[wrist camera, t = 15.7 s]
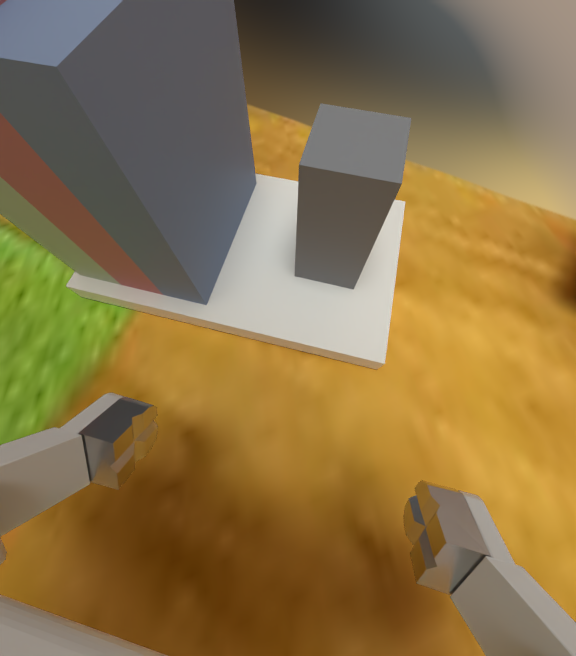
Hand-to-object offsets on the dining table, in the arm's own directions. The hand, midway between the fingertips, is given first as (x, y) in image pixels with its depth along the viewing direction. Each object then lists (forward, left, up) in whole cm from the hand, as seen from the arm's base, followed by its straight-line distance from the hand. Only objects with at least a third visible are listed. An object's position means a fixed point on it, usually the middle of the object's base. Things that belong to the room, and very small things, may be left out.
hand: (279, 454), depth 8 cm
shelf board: (-10, +10, -8) cm, 16 cm away
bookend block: (-4, +12, -6) cm, 14 cm away
